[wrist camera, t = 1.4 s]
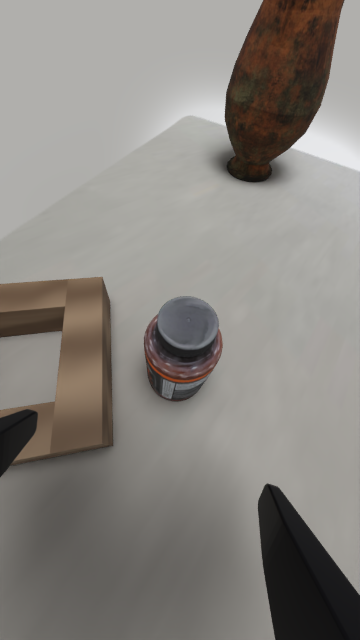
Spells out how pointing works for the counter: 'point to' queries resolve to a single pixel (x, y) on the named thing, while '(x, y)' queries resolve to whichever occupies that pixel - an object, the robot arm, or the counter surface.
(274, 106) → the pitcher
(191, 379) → the supplement bottle
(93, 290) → the walnut well
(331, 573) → the robot arm
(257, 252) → the counter surface
